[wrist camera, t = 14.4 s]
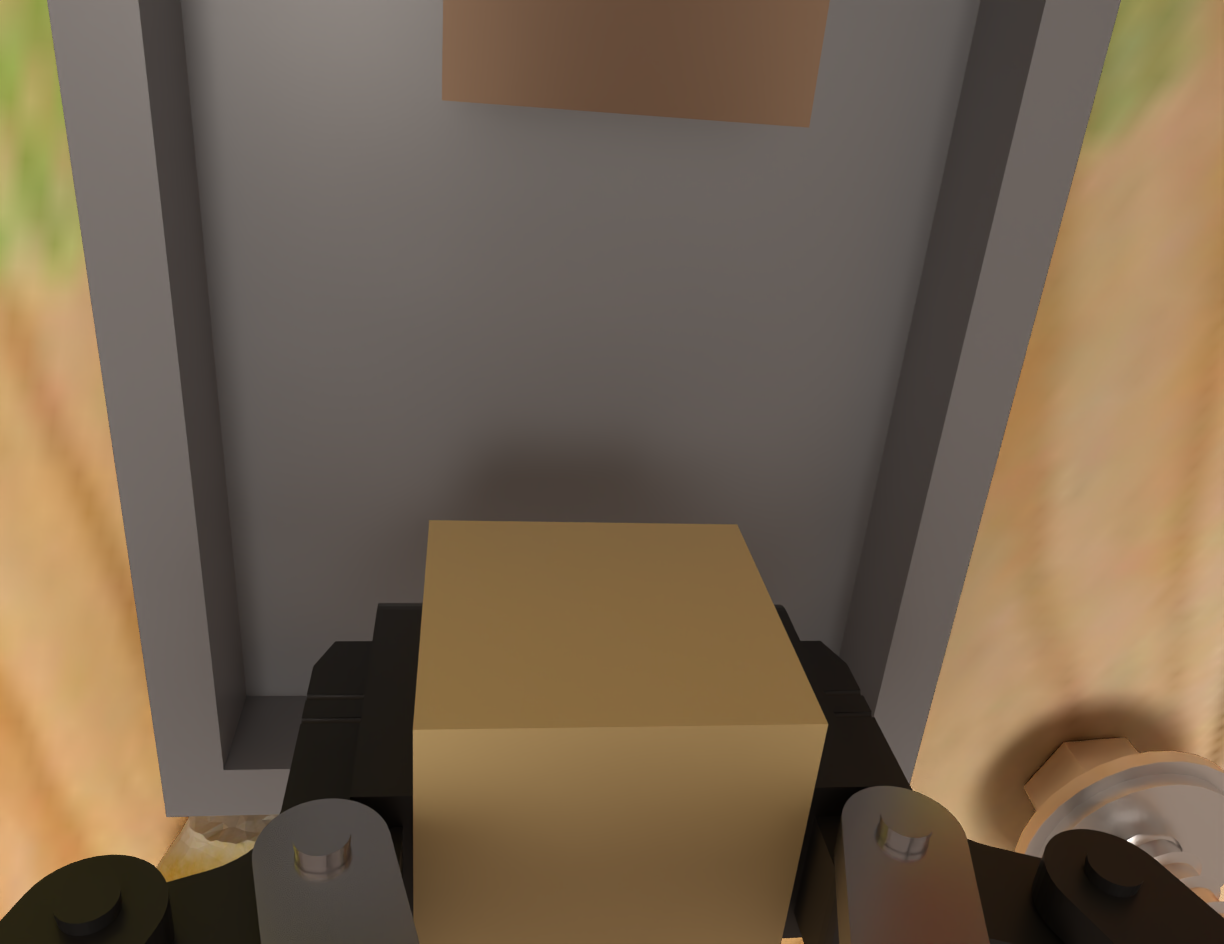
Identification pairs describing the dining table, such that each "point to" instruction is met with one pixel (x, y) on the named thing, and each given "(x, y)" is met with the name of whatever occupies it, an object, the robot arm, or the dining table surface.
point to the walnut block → (638, 56)
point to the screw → (1135, 806)
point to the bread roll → (211, 843)
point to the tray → (547, 328)
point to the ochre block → (606, 738)
